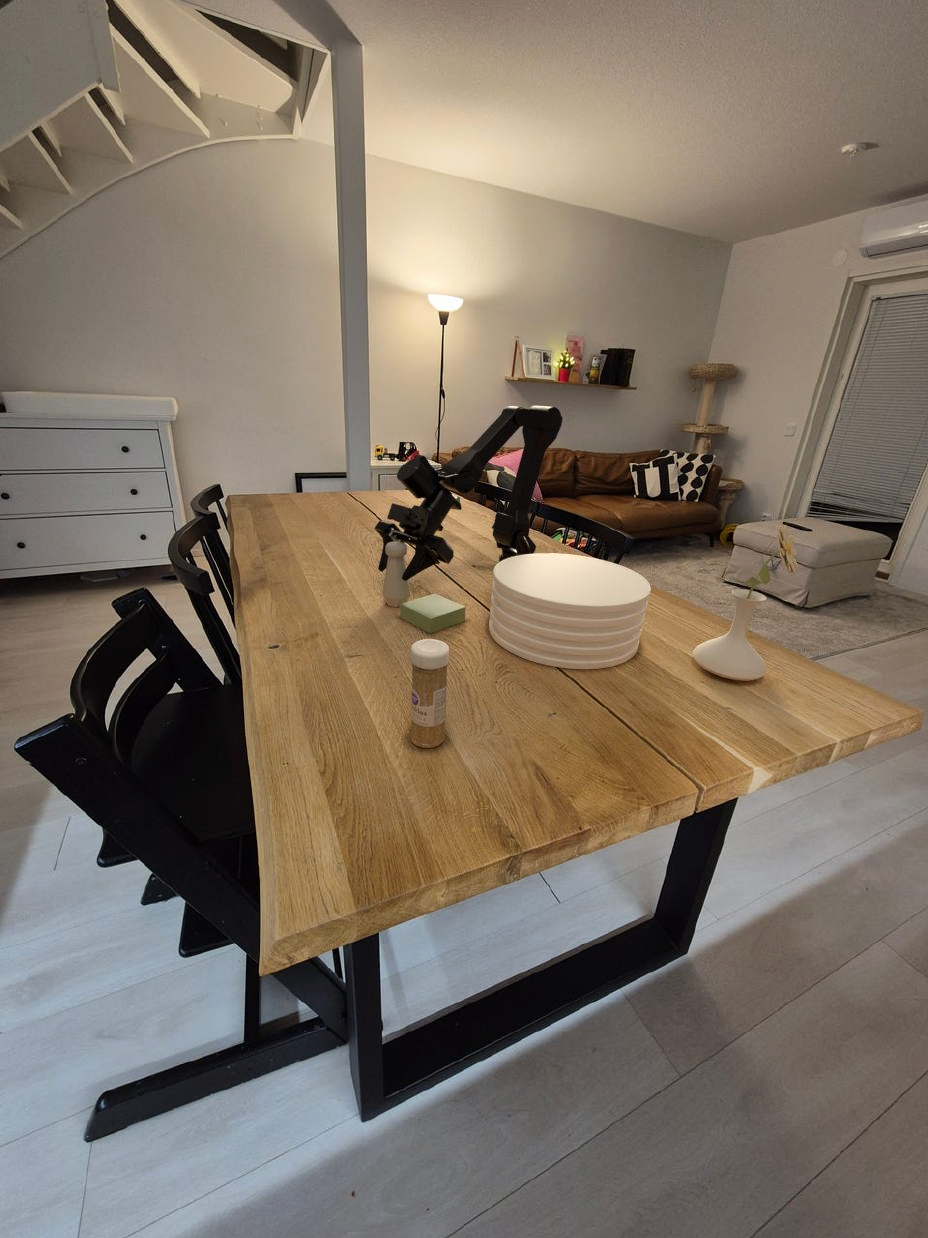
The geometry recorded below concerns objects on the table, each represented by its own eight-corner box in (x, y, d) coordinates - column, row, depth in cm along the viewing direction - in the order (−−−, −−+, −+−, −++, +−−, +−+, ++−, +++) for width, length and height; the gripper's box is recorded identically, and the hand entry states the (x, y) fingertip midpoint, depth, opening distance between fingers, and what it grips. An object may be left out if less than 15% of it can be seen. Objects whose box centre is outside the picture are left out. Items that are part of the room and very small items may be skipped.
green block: (434, 606, 104) (435, 593, 103) (464, 621, 98) (465, 607, 97) (400, 617, 98) (400, 603, 97) (430, 633, 93) (430, 618, 91)
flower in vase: (733, 693, 79) (784, 538, 68) (676, 660, 88) (712, 519, 77) (784, 677, 84) (837, 531, 74) (725, 647, 93) (765, 514, 83)
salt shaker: (413, 599, 107) (413, 540, 102) (407, 610, 102) (407, 548, 96) (386, 597, 107) (385, 538, 102) (379, 607, 102) (378, 545, 97)
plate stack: (646, 622, 102) (658, 568, 98) (625, 686, 79) (640, 620, 74) (517, 594, 113) (522, 545, 108) (464, 644, 89) (468, 583, 85)
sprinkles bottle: (402, 738, 64) (402, 645, 59) (427, 723, 68) (429, 634, 62) (428, 755, 62) (430, 659, 56) (452, 738, 65) (457, 646, 59)
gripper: (380, 481, 103) (338, 542, 100) (446, 495, 92) (401, 565, 89) (408, 514, 112) (370, 571, 109) (471, 531, 101) (431, 595, 98)
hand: (391, 575), depth 101 cm, fingers open, 7 cm apart
